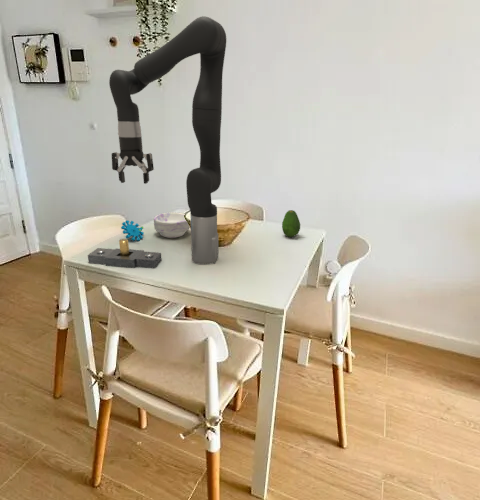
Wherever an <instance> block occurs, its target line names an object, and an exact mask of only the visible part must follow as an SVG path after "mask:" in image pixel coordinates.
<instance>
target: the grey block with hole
mask: <svg viewBox="0 0 480 500" xmlns="http://www.w3.org/2000/svg"><path fill="white" fill-rule="evenodd" d="M129 255H130V256H129V257H124V256H121V254H120V248H102V247H101V248H100V247H97V248H96V249H94V250H92V251H91V252H90V253H88V254H87V259H88V261H87V262H88V263H89V264H97V265H105V266H106V267H116V268H117V267H118V268H131V269H135V268H144V269H156V268H157V267H158V265H159V264H160V263H161V262H162V252H156V251H155V252H154V251H145V250H143V249H130V248H129Z"/></svg>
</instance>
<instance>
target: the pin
mask: <svg viewBox="0 0 480 500" xmlns="http://www.w3.org/2000/svg"><path fill="white" fill-rule="evenodd" d="M118 243H119V249H120V254H121V256H124V257H129V256H130V255H129V249H130V246H129V244H130V243H129V239H128V238H122V239H119V240H118Z"/></svg>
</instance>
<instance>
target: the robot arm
mask: <svg viewBox="0 0 480 500" xmlns="http://www.w3.org/2000/svg"><path fill="white" fill-rule="evenodd" d="M226 48H227V34H226V31H225V28H224V27H223V26H222V24H221V23H220V22H218V21H217V20H214V19H213V18H211V17H210V16H209V17H208V16H203V15H202V16H199V17H196V18H195V19H194V20H193V21H192V22H190V23H189V24H188V25H187V26H186V27H185V28H183V29H182V30H181V31H180V32H179V33H177V35H175V36H174V37H173V38H172V39H170V40H169V41H168V42H166V43H165V44H164V45H162V46H160V47H159V48H157V49H156V50H154V51H151V52H150V53H148V54H147V55H146V56H144V57H142V58H140V59H138V60H137V61H136V62H135V63H134V66H133V69H130V70H124V69H115V70H113V71H112V72H111V74H110V75H109V81H108V82H109V83H108V84H109V90H110V93H111V96H112V99H113V102H114V105H115V107H116V115H117V117H116V118H117V135H118V143H119V152H117V151H116V152H114V151H113V152H112V153H111V168H112V171H116V172H118V180H119V182H120V183H121V184H122V183H123V184H124V183H125V182H126V177H125V171H124V170H125V169H126V167H130V166H131V167H132V166H133V167H138V168H139V169H140V170H141V172H142V174H143V175H142V178H143V184H145V185H146V184H148V182H150V172H152V171H154V170H155V169H154V168H155V167H154V161H153V154H152V153H151V152H149V153H144V151H143V139H142V136H143V135H142V129H141V123H140V111H139V110H140V109H139V105H138V104H137V103H135V102H133V100H132V96H131V95H136V94H138V93H140V92H141V91H143V90H144V89H145V88H146V87H148V86H149V84H151V83H153V82H155V81H156V80H158V79H160V78H163V77H164V76H165V75H167V74H168V73H169V72H171V70H173V69H174V68H175V67H176V65H177V64H179V63H180V62H182V61H183V60H185V59H187V58H190V57H192V56H195V55H198V54H199V57H200V62H199V63H200V68H199V69H200V70H199V78H198V82H197V84H196V88H195V91H194V94H193V97H192V106H191V107H192V109H191V110H192V111H191V117H192V118H191V124H192V128H193V133H194V135H195V137H196V141H197V143H198V147H199V152H200V153H199V154H200V159H199V167H196V168H193V169H191V170H190V171H189V172H188V174H187V176H186V183H185V184H186V187H185V188H186V197H187V198H186V199H187V206H188V208H189V212H190V215H189V216H190V240H191V241H190V242H191V248H190V249H191V262H192V263H194V264H198V265H211V264H212V265H213V264H214V265H215V264H216V262H217V261H218V259H219V233H218V207H217V206H216V204H214V203H212V202H213V201H212V193H215V192H217V190H219V188H220V186H221V183H222V171H221V167H222V166H221V151H220V150H221V129H222V128H221V127H222V109H223V108H222V105H223V103H222V102H223V72H224V63H225V55H226ZM119 159H121V160H122V161H121V162H120V164H119ZM144 159H145V161H146V163H145V162H144Z"/></svg>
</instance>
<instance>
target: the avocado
mask: <svg viewBox="0 0 480 500" xmlns="http://www.w3.org/2000/svg"><path fill="white" fill-rule="evenodd" d="M281 225H282V226H281V227H282V228H281V229H282V233H283V234H284V236H286V237H287V238H294V237H296V236H297V235H298V234H299V232H300V230H301V223H300V219H299V216H298V214H297V212H296V211H295V210H293V209H292V210H287V211H286V213H285V214H284V217H283V220H282V223H281Z"/></svg>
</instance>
